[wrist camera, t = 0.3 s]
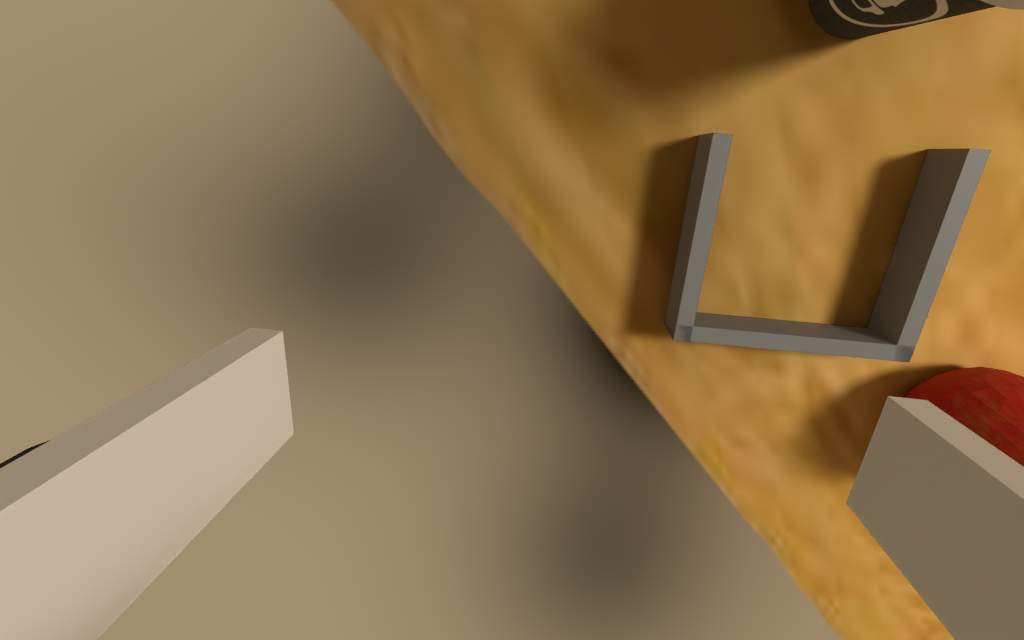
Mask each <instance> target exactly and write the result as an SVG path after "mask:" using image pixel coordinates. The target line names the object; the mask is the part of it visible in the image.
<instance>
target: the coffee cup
mask: <svg viewBox="0 0 1024 640" xmlns="http://www.w3.org/2000/svg"><path fill="white" fill-rule="evenodd" d="M809 5H810V9H811V12H812V14H813V17H814V18H815V20H816V22H817V23H818V24H819V25H820V26H821V27H822V28H823V29H824V30H825V31H826V32H828V33H830V34H832V35H834V36H836V37H840V38H846V39H856V38H862V37H867V36H871V35H875V34H880V33H884V32H888V31H892V30H897V29H901V28H905V27H909V26H914V25H918V24H922V23H926V22H931V21H935V20H939V19H944V18H948V17H952V16H957V15H961V14H965V13H970V12H974V11H978V10H983V9H987V8H992V7H996V6H998V7H1003V8H1009V9H1024V0H809Z"/></svg>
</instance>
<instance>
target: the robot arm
mask: <svg viewBox="0 0 1024 640" xmlns="http://www.w3.org/2000/svg"><path fill="white" fill-rule="evenodd" d="M293 434H294V432H293V423H292V414H291V405H290V395H289V385H288V377H287V367H286V358H285V348H284V339H283V331H279V330H270V329H260V328H249V329H247V330H245V331H244V332H242V333H240V334H238V335H237V336H235V337H233V338H231V339H229V340H228V341H226V342H224V343H222V344H221V345H219V346H217V347H215V348H213V349H212V350H210V351H208V352H206V353H205V354H203V355H201V356H199V357H197V358H196V359H194V360H192V361H190V362H189V363H187V364H185V365H183V366H181V367H180V368H178V369H176V370H174V371H173V372H171V373H169V374H167V375H165V376H164V377H162V378H160V379H158V380H157V381H155V382H153V383H151V384H150V385H148V386H146V387H144V388H142V389H141V390H139V391H137V392H135V393H133V394H132V395H130V396H128V397H127V398H125V399H123V400H121V401H119V402H118V403H116V404H114V405H112V406H111V407H109V408H107V409H105V410H103V411H101V412H100V413H98V414H96V415H95V416H93V417H91V418H89V419H87V420H86V421H84V422H82V423H80V424H78V425H77V426H75V427H73V428H71V429H70V430H68V431H66V432H64V433H62V434H61V435H59V436H57V437H55V438H54V439H52V440H49V441H47V442H44V443H41V444H39V445H36V446H33V447H31V448H28V449H26V450H24V451H23V452H21V453H19V454H17V455H16V456H14V457H12V458H10V459H8V460H6V461H5V462H3V463H1V464H0V640H97V639H98V638H99V636H100V635H101V634H102V633H103V632H104V631H105V630H106V629H107V628H108V627H109V626H110V625H111V624H112V623H113V622H114V621H115V620H116V619H117V618H118V617H119V616H120V615H121V614H122V613H123V611H124V610H125V609H126V608H127V607H128V606H129V605H130V604H131V603H132V602H133V601H134V600H135V599H136V598H137V597H138V596H139V595H140V594H141V593H142V592H143V591H144V590H145V589H146V587H147V586H148V585H149V584H150V583H151V582H152V581H153V580H154V579H155V578H156V577H157V576H158V575H159V574H160V573H161V572H162V571H163V570H164V569H165V567H166V566H168V565H169V563H170V562H171V561H172V560H173V559H174V558H175V557H176V556H177V555H178V554H179V553H180V552H181V551H182V550H183V549H184V548H185V547H186V546H187V544H188V543H190V542H191V541H192V539H193V538H194V537H195V536H196V535H197V534H198V533H199V532H200V531H201V530H202V529H203V528H204V527H205V526H206V525H207V524H208V523H209V522H210V521H211V520H212V519H213V518H214V516H215V515H216V514H217V513H218V512H219V511H220V510H221V509H222V508H223V507H224V506H225V505H226V504H227V503H228V502H229V501H230V500H231V499H232V498H233V497H234V495H235V494H237V493H238V491H239V490H240V489H241V488H242V487H243V486H244V485H245V484H246V483H247V482H248V481H249V480H250V479H251V478H252V477H253V476H254V475H255V474H256V473H257V472H258V471H259V469H260V468H261V467H262V466H263V465H264V464H265V463H266V462H267V461H268V460H269V459H270V458H271V457H272V456H273V455H274V454H275V452H277V451H278V450H279V449H280V447H282V446H283V444H284V443H285V442H286V441H287V440H288V439H289V438H290V437H291V436H292V435H293ZM846 503H847V504H848V506H849V507H850V508H851V509H852V511H853V512H854V513H855V514H856V516H857V517H858V518H859V519H860V521H861V522H862V523H863V524H864V526H865V527H866V528H867V530H868V531H869V532H870V533H871V535H872V536H873V537H874V538H875V540H876V541H877V542H878V543H879V545H880V546H881V547H882V548H883V550H884V551H885V552H886V553H887V555H888V556H889V557H890V558H891V560H892V561H893V562H894V563H895V565H896V566H897V567H898V568H899V570H900V571H901V572H902V573H903V575H904V576H905V577H906V578H907V580H908V581H909V582H910V583H911V585H912V586H913V587H914V588H915V590H916V591H917V592H918V593H919V595H920V596H921V597H922V598H923V600H924V601H925V602H926V603H927V605H928V606H929V607H930V609H931V610H932V611H933V612H934V614H935V615H936V616H937V617H938V619H939V620H940V621H941V622H942V624H943V625H944V626H945V627H946V629H947V630H948V631H949V632H950V634H951V635H952V636H953V637H954V639H955V640H1024V467H1023V466H1022V465H1020V464H1019V463H1017V462H1016V461H1015V460H1013V459H1012V458H1010V457H1009V456H1007V455H1006V454H1004V453H1003V452H1001V451H1000V450H999V449H997V448H996V447H994V446H993V445H991V444H990V443H988V442H987V441H986V440H984V439H983V438H981V437H980V436H978V435H977V434H975V433H974V432H973V431H971V430H970V429H968V428H967V427H965V426H964V425H962V424H961V423H959V422H958V421H957V420H955V419H954V418H952V417H951V416H949V415H948V414H946V413H945V412H944V411H942V410H941V409H939V408H938V407H936V406H935V405H933V404H932V403H930V402H929V401H928V400H921V399H911V398H902V397H893V396H888V397H887V400H886V402H885V405H884V407H883V410H882V413H881V415H880V418H879V420H878V423H877V425H876V428H875V430H874V433H873V436H872V438H871V441H870V443H869V446H868V448H867V451H866V453H865V456H864V459H863V461H862V464H861V466H860V469H859V471H858V474H857V476H856V479H855V481H854V484H853V487H852V489H851V492H850V494H849V497H848V499H847V502H846Z"/></svg>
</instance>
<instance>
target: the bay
mask: <svg viewBox="0 0 1024 640" xmlns="http://www.w3.org/2000/svg"><path fill="white" fill-rule="evenodd" d="M732 137H733V134H720V133H710V134H703V135H699V137H698V142H697V148H696V153H695V159H694V164H693V170H692V175H691V181H690V186H689V191H688V197H687V202H686V208H685V213H684V219H683V224H682V230H681V235H680V240H679V246H678V251H677V257H676V262H675V268H674V273H673V279H672V284H671V289H670V295H669V300H668V306H667V311H666V317H665V322H664V324H665V326H666V328H667V330H668V331H669V333H670V335H671V336H672V338H673V340H679V341H689V342H700V343H710V344H721V345H731V346H742V347H752V348H763V349H773V350H784V351H794V352H805V353H815V354H826V355H836V356H847V357H858V358H868V359H879V360H889V361H900V362H910V359H911V357H912V354H913V351H914V349H915V346H916V344H917V341H918V338H919V336H920V333H921V331H922V328H923V325H924V323H925V320H926V318H927V315H928V312H929V310H930V307H931V305H932V302H933V299H934V297H935V294H936V292H937V289H938V286H939V284H940V281H941V279H942V276H943V273H944V271H945V268H946V266H947V263H948V260H949V258H950V255H951V253H952V250H953V248H954V245H955V242H956V240H957V237H958V235H959V232H960V229H961V227H962V224H963V222H964V219H965V216H966V214H967V211H968V209H969V206H970V203H971V201H972V198H973V196H974V193H975V190H976V188H977V185H978V183H979V180H980V177H981V175H982V172H983V170H984V167H985V164H986V162H987V159H988V157H989V154H990V151H991V150H983V149H928V151H927V154H926V157H925V160H924V163H923V166H922V169H921V172H920V175H919V178H918V181H917V184H916V186H915V189H914V192H913V195H912V198H911V201H910V204H909V207H908V210H907V213H906V216H905V219H904V222H903V224H902V227H901V230H900V233H899V236H898V239H897V242H896V245H895V248H894V251H893V254H892V257H891V260H890V263H889V265H888V268H887V271H886V274H885V277H884V280H883V283H882V286H881V289H880V292H879V295H878V298H877V301H876V303H875V306H874V309H873V312H872V315H871V318H870V321H869V324H868V327H867V328H863V327H852V326H841V325H830V324H819V323H808V322H797V321H786V320H775V319H764V318H753V317H742V316H731V315H719V314H708V313H697V312H696V311H697V306H698V302H699V297H700V292H701V287H702V282H703V277H704V272H705V268H706V263H707V258H708V253H709V248H710V243H711V239H712V234H713V229H714V224H715V219H716V214H717V210H718V205H719V200H720V195H721V190H722V185H723V181H724V176H725V171H726V166H727V161H728V156H729V152H730V147H731V142H732Z"/></svg>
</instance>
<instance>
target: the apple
mask: <svg viewBox="0 0 1024 640" xmlns="http://www.w3.org/2000/svg"><path fill="white" fill-rule="evenodd" d="M904 398H911V399H921V400H928V401H929V402H930V403H932V404H933V405H935V406H936V407H938V408H939V409H941V410H942V411H944V412H945V413H946V414H948V415H949V416H951V417H952V418H954V419H955V420H957V421H958V422H959V423H961V424H962V425H964V426H965V427H967V428H968V429H970V430H971V431H973V432H974V433H975V434H977V435H978V436H980V437H981V438H983V439H984V440H986V441H987V442H988V443H990V444H991V445H993V446H994V447H996V448H997V449H999V450H1000V451H1001V452H1003V453H1004V454H1006V455H1007V456H1009V457H1010V458H1012V459H1013V460H1015V461H1016V462H1017V463H1019V464H1020V465H1022V466H1023V467H1024V377H1022V376H1019V375H1016V374H1013V373H1011V372H1008V371H1004V370H998V369H992V368H985V367H974V368H965V369H957V370H953V371H949V372H945V373H941V374H937V375H934V376H932V377H931V378H929V379H927V380H925V381H924V382H922V383H920V384H919V385H917V386H915V387H914V388H913V389H912V390H911V391H910V392H909V393H908V394H907V395H906V396H905V397H904Z"/></svg>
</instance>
